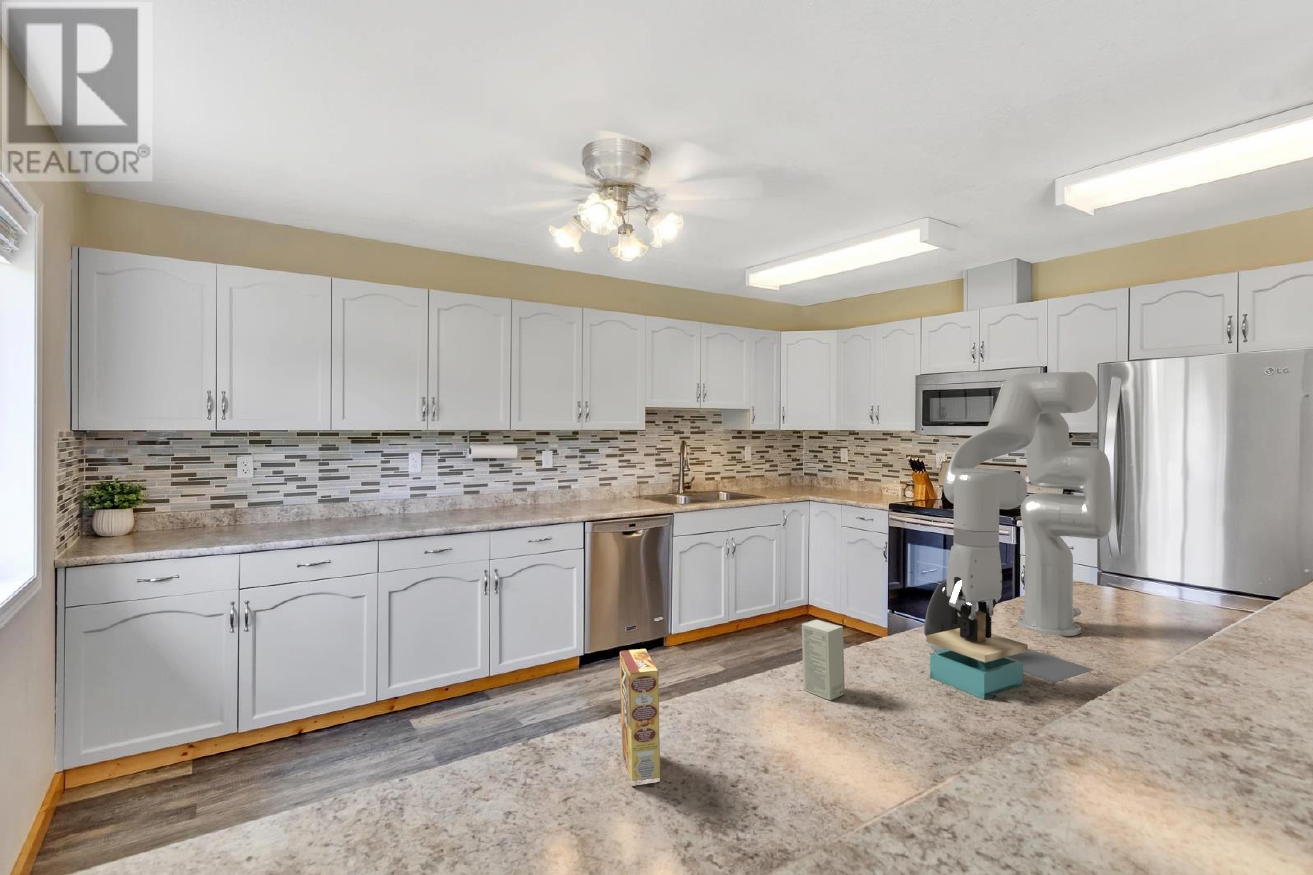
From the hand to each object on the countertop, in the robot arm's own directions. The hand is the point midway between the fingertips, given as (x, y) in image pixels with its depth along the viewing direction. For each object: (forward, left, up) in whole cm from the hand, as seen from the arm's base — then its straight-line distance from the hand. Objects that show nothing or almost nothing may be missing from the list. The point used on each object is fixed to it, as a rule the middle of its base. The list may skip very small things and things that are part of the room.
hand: (975, 636), depth 116 cm
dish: (0, 0, -9) cm, 9 cm away
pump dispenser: (-9, -12, -9) cm, 17 cm away
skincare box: (+28, -10, -9) cm, 31 cm away
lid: (0, 0, -2) cm, 2 cm away
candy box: (+68, -3, -9) cm, 68 cm away
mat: (-18, +1, -9) cm, 20 cm away
